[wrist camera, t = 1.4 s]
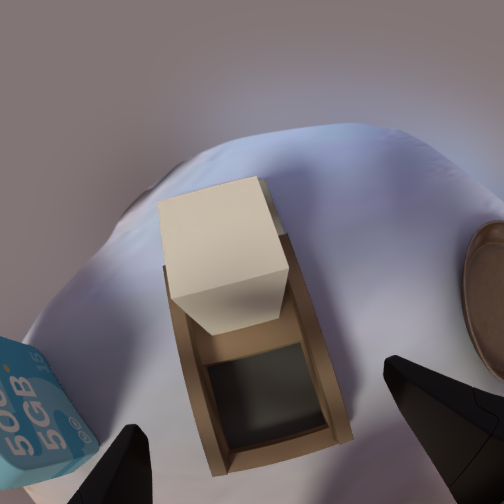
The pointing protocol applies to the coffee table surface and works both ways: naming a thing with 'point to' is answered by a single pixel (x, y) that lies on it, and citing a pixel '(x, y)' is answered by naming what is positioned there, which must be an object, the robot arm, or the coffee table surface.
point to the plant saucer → (486, 295)
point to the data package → (37, 421)
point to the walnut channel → (262, 380)
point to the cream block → (223, 256)
